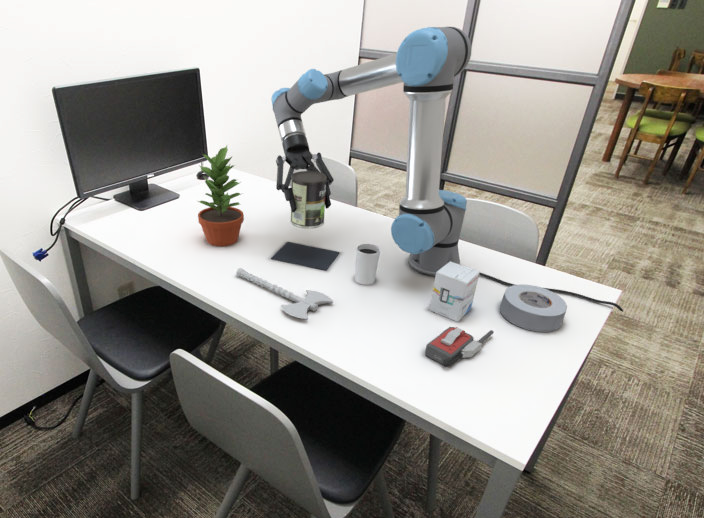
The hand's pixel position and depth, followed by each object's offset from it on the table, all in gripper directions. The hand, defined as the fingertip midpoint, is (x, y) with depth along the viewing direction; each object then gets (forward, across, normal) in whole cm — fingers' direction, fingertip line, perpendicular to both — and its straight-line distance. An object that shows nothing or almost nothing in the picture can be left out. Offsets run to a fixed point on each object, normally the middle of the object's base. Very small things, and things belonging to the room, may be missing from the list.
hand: (311, 208), depth 144 cm
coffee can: (+2, 0, -6) cm, 6 cm away
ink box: (+39, -25, +15) cm, 48 cm away
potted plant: (-3, +22, -28) cm, 35 cm away
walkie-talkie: (+49, -17, +25) cm, 58 cm away
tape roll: (+45, -44, +22) cm, 66 cm away
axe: (+23, +16, -1) cm, 28 cm away
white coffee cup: (+24, -11, 0) cm, 26 cm away
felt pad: (+10, 0, -14) cm, 17 cm away
